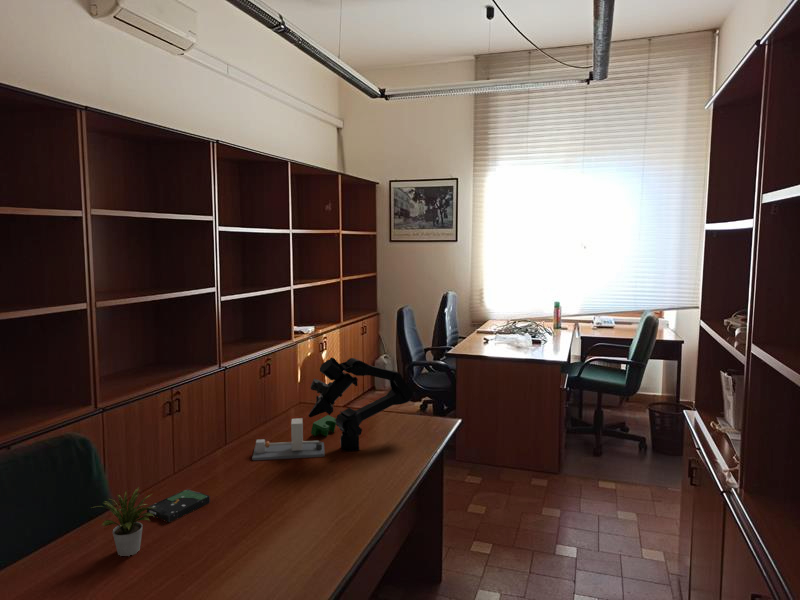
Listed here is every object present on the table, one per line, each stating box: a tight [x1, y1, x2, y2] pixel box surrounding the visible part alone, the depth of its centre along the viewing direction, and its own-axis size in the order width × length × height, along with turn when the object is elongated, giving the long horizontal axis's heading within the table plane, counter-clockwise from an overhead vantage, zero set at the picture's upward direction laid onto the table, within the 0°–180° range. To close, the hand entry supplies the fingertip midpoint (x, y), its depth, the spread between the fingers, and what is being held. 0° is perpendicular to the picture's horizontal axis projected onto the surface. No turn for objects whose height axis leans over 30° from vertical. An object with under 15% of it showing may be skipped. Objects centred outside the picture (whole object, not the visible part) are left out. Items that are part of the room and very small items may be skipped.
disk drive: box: [146, 488, 211, 523], centre depth 173 cm, size 10×3×15 cm
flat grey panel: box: [251, 439, 326, 461], centre depth 216 cm, size 26×12×5 cm, turn 99°
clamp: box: [310, 414, 337, 437], centre depth 237 cm, size 12×6×9 cm, turn 148°
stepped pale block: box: [290, 417, 304, 451], centre depth 216 cm, size 4×6×10 cm, turn 9°
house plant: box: [91, 487, 155, 557], centre depth 147 cm, size 14×14×16 cm
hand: (309, 416), depth 216 cm, fingers closed
